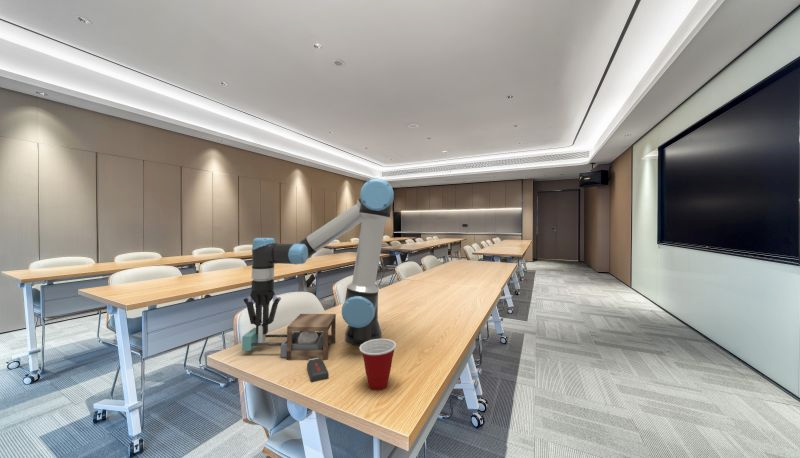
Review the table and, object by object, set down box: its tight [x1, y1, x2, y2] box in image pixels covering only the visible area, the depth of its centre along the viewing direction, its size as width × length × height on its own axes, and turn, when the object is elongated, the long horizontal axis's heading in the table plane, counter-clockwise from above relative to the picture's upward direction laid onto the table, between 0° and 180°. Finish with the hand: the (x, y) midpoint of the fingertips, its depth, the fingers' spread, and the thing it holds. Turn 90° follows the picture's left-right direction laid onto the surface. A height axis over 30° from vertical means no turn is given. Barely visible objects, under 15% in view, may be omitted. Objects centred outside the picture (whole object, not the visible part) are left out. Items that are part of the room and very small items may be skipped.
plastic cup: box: [359, 338, 397, 391], centre depth 85 cm, size 11×11×12 cm
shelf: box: [286, 313, 337, 361], centre depth 107 cm, size 14×15×12 cm
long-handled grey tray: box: [241, 327, 323, 358], centre depth 107 cm, size 27×13×7 cm, turn 93°
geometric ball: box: [298, 331, 319, 344], centre depth 108 cm, size 8×8×8 cm
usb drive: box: [306, 358, 330, 383], centre depth 92 cm, size 5×12×3 cm, turn 26°
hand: (261, 342), depth 107 cm, fingers closed
